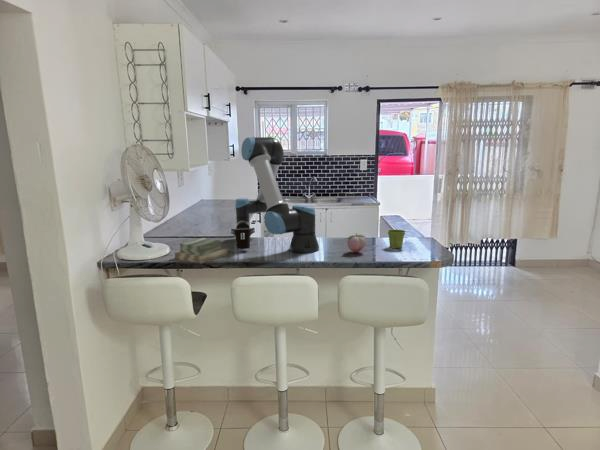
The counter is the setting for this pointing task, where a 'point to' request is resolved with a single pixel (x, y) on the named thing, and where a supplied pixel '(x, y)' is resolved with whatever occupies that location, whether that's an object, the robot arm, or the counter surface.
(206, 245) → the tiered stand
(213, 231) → the counter surface
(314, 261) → the counter surface
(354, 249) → the decorative fruit
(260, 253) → the counter surface
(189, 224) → the counter surface
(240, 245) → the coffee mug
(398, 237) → the plant pot
